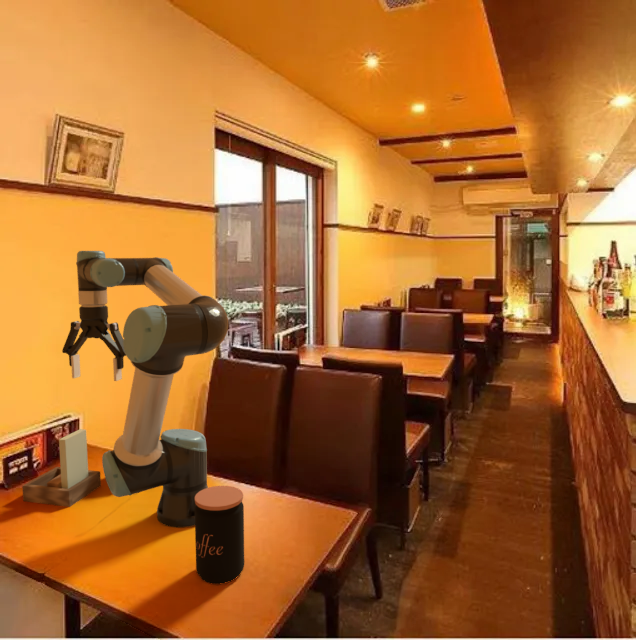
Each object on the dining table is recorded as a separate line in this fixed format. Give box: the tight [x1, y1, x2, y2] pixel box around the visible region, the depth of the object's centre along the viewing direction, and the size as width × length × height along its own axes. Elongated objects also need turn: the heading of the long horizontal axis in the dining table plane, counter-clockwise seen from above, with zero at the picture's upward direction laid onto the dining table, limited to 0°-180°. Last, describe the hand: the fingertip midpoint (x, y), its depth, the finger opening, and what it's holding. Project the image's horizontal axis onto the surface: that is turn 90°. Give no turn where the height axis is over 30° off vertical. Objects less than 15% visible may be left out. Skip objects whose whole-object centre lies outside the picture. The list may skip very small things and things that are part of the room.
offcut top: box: [47, 474, 62, 488], centre depth 159 cm, size 3×8×2 cm, turn 171°
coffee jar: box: [194, 485, 245, 585], centre depth 123 cm, size 11×11×18 cm
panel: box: [58, 428, 89, 489], centre depth 158 cm, size 2×9×18 cm, turn 167°
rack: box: [21, 466, 102, 508], centre depth 160 cm, size 15×14×6 cm
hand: (96, 378), depth 159 cm, fingers open, 13 cm apart
